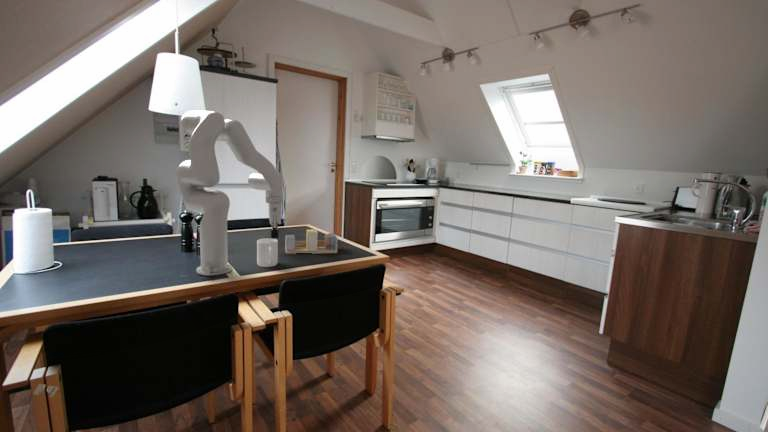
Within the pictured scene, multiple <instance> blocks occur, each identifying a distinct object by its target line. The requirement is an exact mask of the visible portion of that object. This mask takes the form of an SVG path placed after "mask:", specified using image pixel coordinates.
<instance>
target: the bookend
mask: <svg viewBox="0 0 768 432" xmlns="http://www.w3.org/2000/svg"><path fill="white" fill-rule="evenodd" d="M284 239H285V240H284V242H285V243H284V244H285V245H284V249H285V248H286V250H295V241H296V237H295V234H285V237H284Z"/></svg>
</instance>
